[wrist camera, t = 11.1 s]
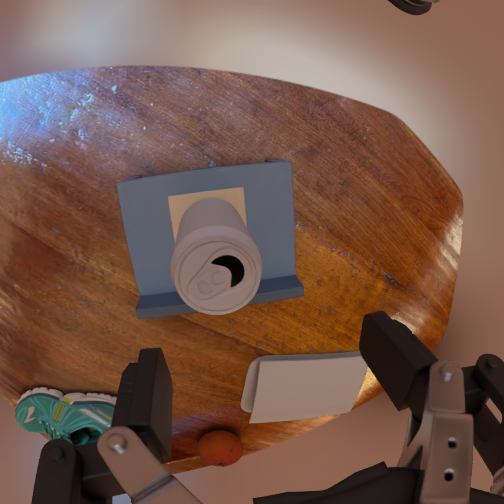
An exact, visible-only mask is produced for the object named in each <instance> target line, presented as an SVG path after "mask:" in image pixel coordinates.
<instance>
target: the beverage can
mask: <svg viewBox="0 0 504 504" xmlns="http://www.w3.org/2000/svg"><path fill="white" fill-rule="evenodd" d="M170 272H171V278H172V282H173V284H174V286H175V288H176V290H177V291H178V293H179V295H180V297H181V298H182V300H183V301H184V302H185V303H186V304H187V305H188V306H190V307H191V308H193V309H194V310H196V311H199V312H201V313H205V314H210V315H223V314H228V313H232V312H234V311H237V310H239V309H240V308H242V307H244V306H245V305H246V304H247V303H248V302H249V301H250V300H251V299H252V298H253V297H254V295H255V294H256V292H257V290H258V287H259V284H260V279H261V275H262V258H261V255H260V252H259V250H258V248H257V246H256V244H255V242H254V240H253V239H252V237H251V235H250V233H249V231H248V229H247V227H246V226H245V224H244V222H243V220H242V218H241V216H240V214H239V213H238V211H237V210H236V209H235V208H234V207H233V206H232V205H231V204H230V203H228V202H226V201H224V200H221V199H216V198H207V199H202V200H199V201H197V202H195V203H194V204H192V205H191V206H190V207H189V208H188V209H187V210H186V211H185V213H184V214H183V216H182V218H181V221H180V225H179V229H178V233H177V237H176V242H175V246H174V250H173V255H172V259H171V265H170Z"/></svg>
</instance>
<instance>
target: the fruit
mask: <svg viewBox="0 0 504 504" xmlns="http://www.w3.org/2000/svg"><path fill="white" fill-rule="evenodd" d="M198 451H199V454H200V456H201V458H202V459H203V460H204V461H205V462H207V463H209V464H211V465H214V466H222V467H224V466H228V465H231V464H233V463H235V462H237V461H238V460H239V459H240V457H241V456H242V454H243V444H242V442H241V440H240V439H239V438H238V437H237V436H236V435H234V434H233V433H231V432H228V431H225V430H215V431H211V432H209V433H207V434H205V435H204V436H203V437H201V439H200V440H199V442H198Z"/></svg>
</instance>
